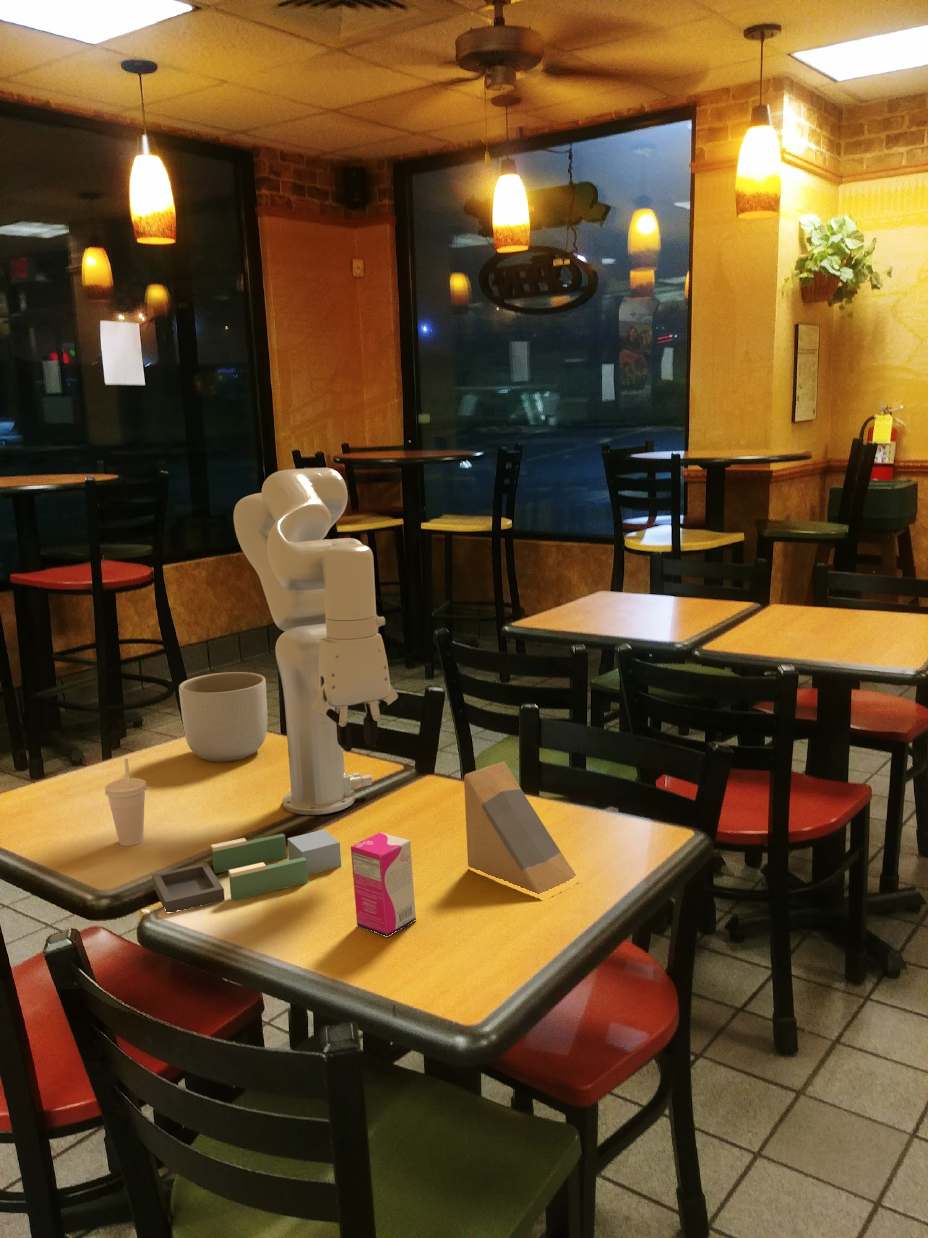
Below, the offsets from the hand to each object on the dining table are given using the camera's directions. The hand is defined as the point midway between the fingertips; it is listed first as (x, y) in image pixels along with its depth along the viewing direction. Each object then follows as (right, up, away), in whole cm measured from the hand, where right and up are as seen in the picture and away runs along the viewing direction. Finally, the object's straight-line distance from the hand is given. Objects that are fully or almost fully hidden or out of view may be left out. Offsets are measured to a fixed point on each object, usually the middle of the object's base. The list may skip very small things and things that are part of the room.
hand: (358, 745), depth 155 cm
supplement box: (+6, -21, -20) cm, 29 cm away
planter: (-32, -9, +53) cm, 63 cm away
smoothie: (-38, -17, +11) cm, 43 cm away
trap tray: (-23, -20, -9) cm, 32 cm away
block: (-6, -18, 0) cm, 19 cm away
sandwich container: (+25, -18, -7) cm, 32 cm away
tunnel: (-14, -19, -4) cm, 24 cm away
